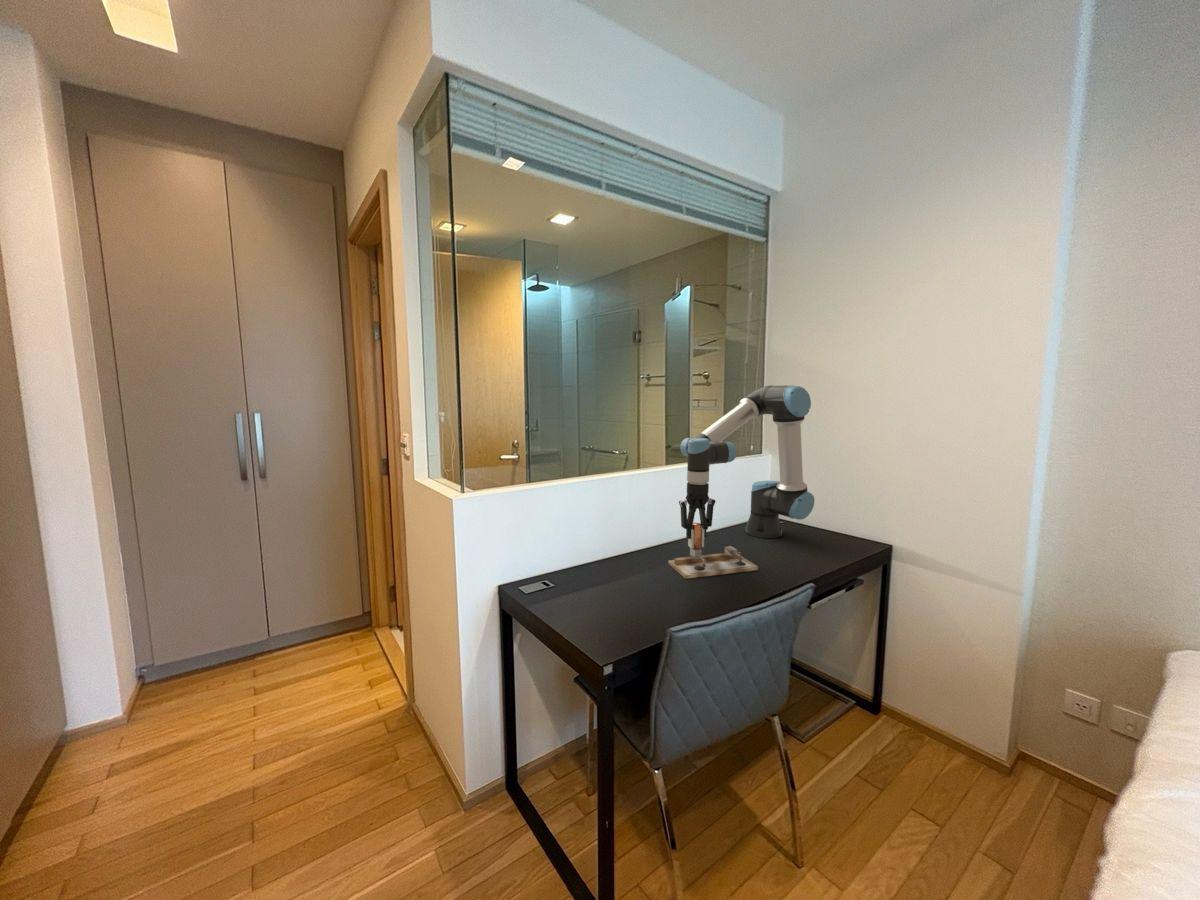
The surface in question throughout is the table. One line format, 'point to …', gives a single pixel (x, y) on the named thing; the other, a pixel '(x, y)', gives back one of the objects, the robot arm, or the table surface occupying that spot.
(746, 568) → the holed mounting plate
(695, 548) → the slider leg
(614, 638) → the table surface
